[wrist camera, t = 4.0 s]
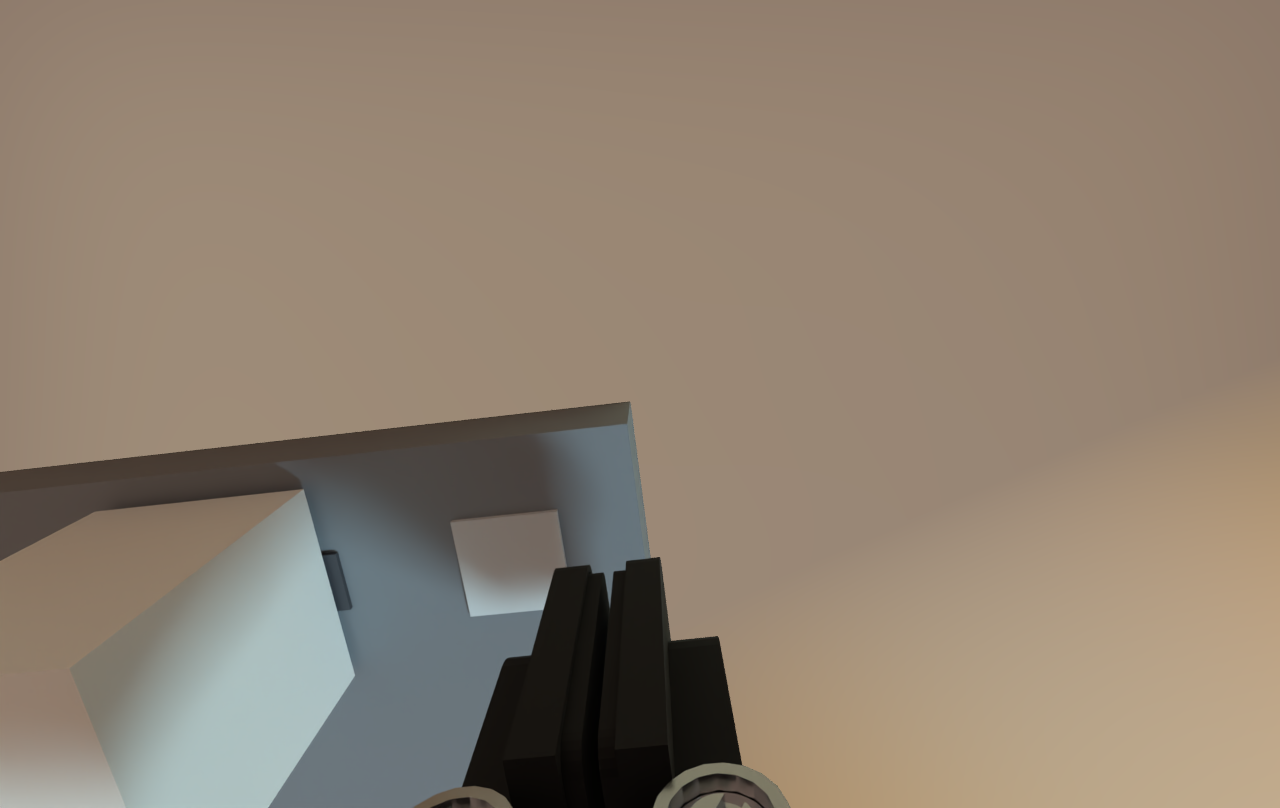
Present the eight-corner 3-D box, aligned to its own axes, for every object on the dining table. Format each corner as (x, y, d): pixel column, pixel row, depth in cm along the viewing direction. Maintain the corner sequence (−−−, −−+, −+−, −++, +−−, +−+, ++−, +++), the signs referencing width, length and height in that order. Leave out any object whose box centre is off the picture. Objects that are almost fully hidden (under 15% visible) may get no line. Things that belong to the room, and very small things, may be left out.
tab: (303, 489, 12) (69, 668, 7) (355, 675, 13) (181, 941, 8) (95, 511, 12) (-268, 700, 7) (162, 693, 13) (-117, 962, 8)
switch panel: (630, 401, 13) (626, 425, 12) (698, 926, 17) (702, 996, 15) (-456, 523, 14) (-588, 559, 13) (-173, 986, 18) (-250, 1057, 17)
